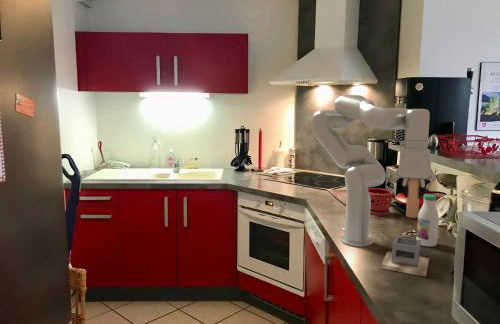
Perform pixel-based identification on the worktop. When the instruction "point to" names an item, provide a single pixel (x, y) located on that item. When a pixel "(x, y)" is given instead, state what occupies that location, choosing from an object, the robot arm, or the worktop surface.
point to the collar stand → (406, 257)
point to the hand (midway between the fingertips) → (413, 196)
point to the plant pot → (380, 201)
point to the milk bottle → (428, 222)
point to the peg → (413, 198)
